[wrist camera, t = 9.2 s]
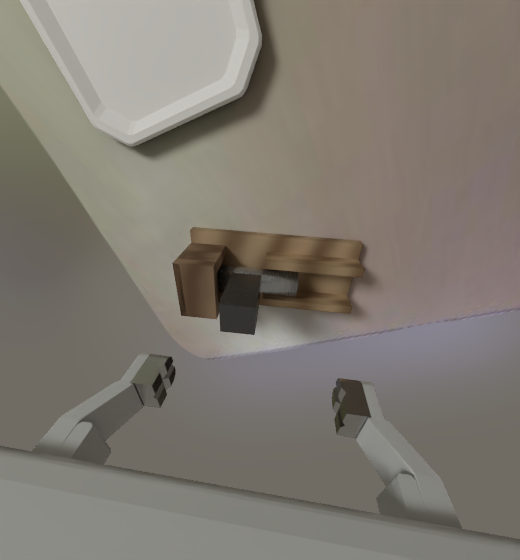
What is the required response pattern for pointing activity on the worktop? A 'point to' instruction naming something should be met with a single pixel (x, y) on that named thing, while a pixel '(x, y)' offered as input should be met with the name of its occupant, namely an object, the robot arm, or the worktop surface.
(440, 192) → the worktop surface
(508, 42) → the worktop surface
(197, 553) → the robot arm
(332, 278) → the cradle
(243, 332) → the grey mallet
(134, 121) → the plate
